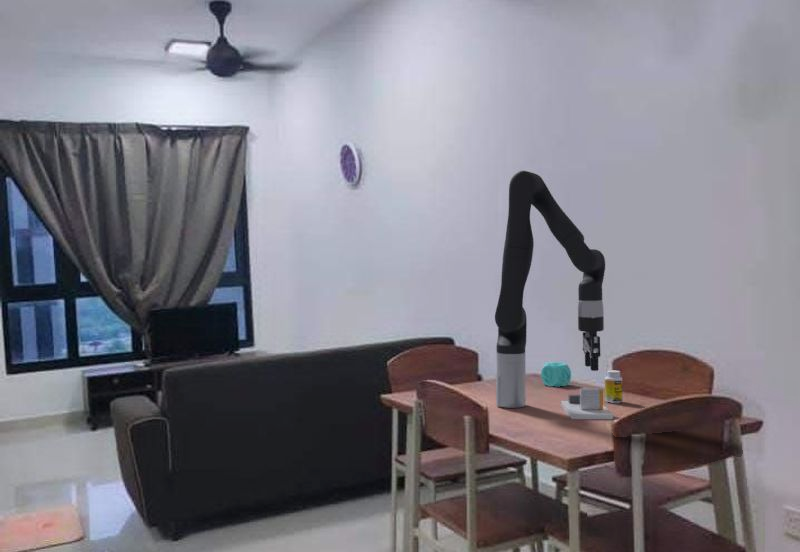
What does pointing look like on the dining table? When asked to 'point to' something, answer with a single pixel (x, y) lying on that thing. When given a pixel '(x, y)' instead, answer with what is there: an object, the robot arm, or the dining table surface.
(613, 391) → the supplement bottle
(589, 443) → the dining table surface
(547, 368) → the decorative dice
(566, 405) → the base
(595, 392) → the white orange box
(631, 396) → the dining table surface
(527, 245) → the robot arm
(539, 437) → the dining table surface
